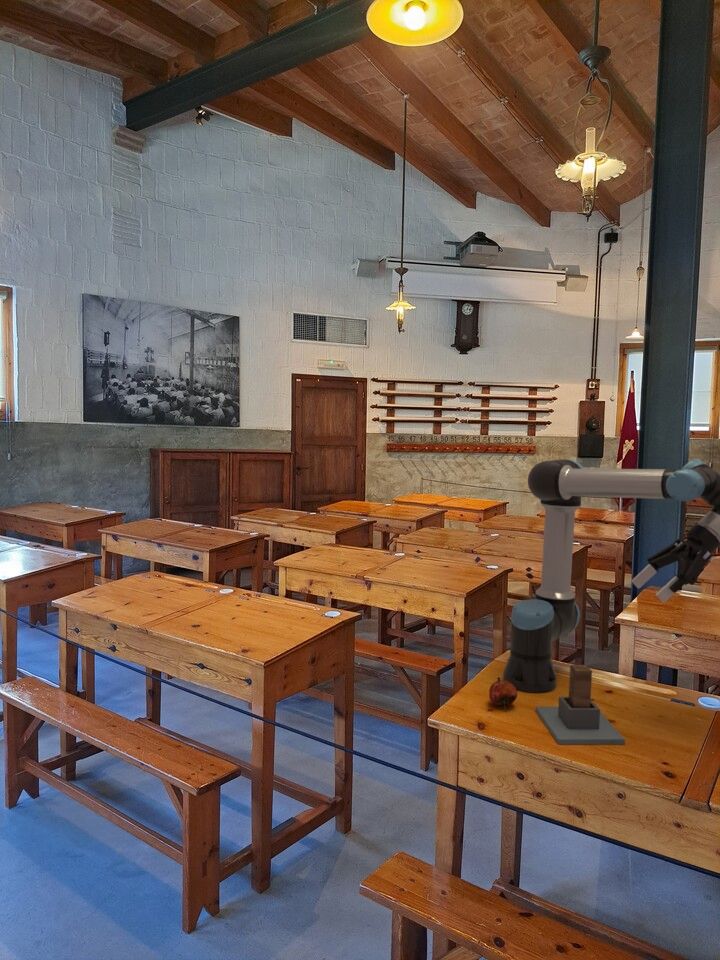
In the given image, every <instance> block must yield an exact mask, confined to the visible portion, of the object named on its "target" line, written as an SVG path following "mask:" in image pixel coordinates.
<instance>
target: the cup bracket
mask: <svg viewBox="0 0 720 960" xmlns="http://www.w3.org/2000/svg"><path fill="white" fill-rule="evenodd" d="M568 700H569V696H558V706H535V712H536V714H537V716H538V717H539V719H541V720H540V721H542V723H543V724H544V725H545V727H546V728H547V730H548V731H549V733H550V734H551V735H552V737H553V739H554V740H555V741H556V743H557V745H626V739H625V738H624V736H623V735H622V734H621V733H620V732H619V731H618V730H617V729H616V728H615V726H614V725H613V724H612V723H611V722H610V721H609V720H608V719H607V718H606V717H605V716H604V714H603V713H602V712H601V709H600V708H599V706H597V704H596V703H595V702H594V701H593V700H592V699H591V700H590V708H571V707H570V706H569V704H568Z"/></svg>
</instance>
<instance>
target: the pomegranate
mask: <svg viewBox="0 0 720 960" xmlns="http://www.w3.org/2000/svg"><path fill="white" fill-rule="evenodd" d="M496 680H497V681H495V682H493V683H492V684H491V685H490V687H489V691H488V692H489V693H488V695H489V696H488V697H489V701H490V702H491V703H492V704H493V705H494V706H496V707H497V706H504V711H505V712H507V706H508V705H512V704H514V702H515V701H516V700H517V698H518V690H517V689H516V688H515V687H514V685H513V684H511V683H510V682H508V681H506V680H503V679H501V678H500V677H496Z"/></svg>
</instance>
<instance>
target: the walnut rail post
mask: <svg viewBox="0 0 720 960" xmlns="http://www.w3.org/2000/svg"><path fill="white" fill-rule="evenodd" d="M592 680H593V670H592V669H590V667H588V665H587V664H570V666H569V683H568V697H569V700H568V704H569V706H570V707H571V708H590V700H592V699H591V697H592Z"/></svg>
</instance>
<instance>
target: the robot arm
mask: <svg viewBox="0 0 720 960" xmlns="http://www.w3.org/2000/svg"><path fill="white" fill-rule="evenodd" d="M527 486H528V489H529V491H530V492H531V494H532V495H533V496H534V497H535V498H537V499H538V500H540V505H541V506H542V507H543V508H544V509H545V512H544V528H543V529H544V530H543V544H542V547H543V548H542V563H541V564H542V565H541V580H540V581H541V582H540V584H541V585H540V587H539V588H537V589H536V590H535V595H534V598H531V599H523V600H522V599H521V600H520V601H517V602H516V603H515V604H514V605H513V607H512V609H511V616H510V621H511V623H510V645H509V646H510V647H509V648H510V653H509V656H508V658H507V661H506V664H505V667H504V670H503V674H502V680H506V681H508V682H510V683H511V684H513V685H514V687H515V688H516V690H517V691H522V692H526V693H548V692H551V691H554V690H555V689H556V688H557V675H556V671H555V667H554V663H553V659H552V651H553V650H552V649H553V642H554V641H556V640H558V639H560V638H561V637H564V636H568V635H569V634H570V633H572V632H573V631H574V630H575V629H576V627H577V626H578V624H579V623H580V618H581V611H580V608H579V606H578V605H577V603H576V595H575V592H573V591H572V590H571V585H572V582H571V581H572V567H573V553H574V551H573V549H574V548H573V546H574V533H575V521H576V520H575V517H576V512H577V510H578V509H579V508H581V506H582V497H588V498H589V497H590V498H591V497H592V498H620V499H621V498H623V499H650V500H651V499H652V500H653V499H656V500H657V499H658V500H674V501H675V500H676V501H679V502H691V501H694V500H697V499H701V500H702V501H704V502H705V503H707V504H708V505H709V506H710V507H711V508H712V509H711V510H709V511H708V512H707V513H706V514H705V515H704V516H703V517H701V519H699V521H698V522H697V524H695V525H693V526H692V527H691V528H690V529H689V530H688V531H687V532H686V533H685V536H686V537H687V539H686V540H685V541H684V542H682V540H681V539H680V538H678V539H676V540H675V541H673V542H672V543H671V544H669V545H668V546H666V547H665V548H663V549H661V550H659V551H657V553H655V554H652V555H651V556H650V557H648V558H647V559H646V562H648V564H647V565H646V566H645V567H644V568H643V569H642V570H641V571H640V572H639V573H638V574H637V575H636V576H634V578H633V579H632V580H630V582H631V583H632V584H633V585H634V586H635V587H636V589H640V588H642V587H643V586H644V585H645V584H646V583H647V582H648V581H649V580H650V579H651V578H652V577H653V576H655V574H657V573H659V569H661V568H664V567H666V566H668V565H671V564H673V563H675V562H679V563H680V562H682V564H681V567H680V570H679V573H677V574H675V575H676V576H674V577H673V578H671V579H670V581H668V582H667V583H666V584H665V585H664V586H662V588H661V589H660V590H659V591H657V593H656V594H655V596H656V597H657V599H659V600H660V601H661V602H662V603H663V604H665V603H666V602H667V601H668V600H669V599H671V597H673V596H674V595H675V594H676V593H677V592H678V591H679V590H681V589H682V587H683V586H687V585H691V586H692V585H695V583H696V581H697V580H698V578H699V576H700V574H701V573H702V572H703V570H704V568H705V566H706V564H707V563H708V561H709V560H711V558H713V555H712V554H713V553H714V552H715V551H716V550H717V549H718V548H720V473H719V472H717V471H716V469H715V470H714V469H713V468H712V467H711V466H710V465H709V464H708V463H705V462H704V461H702V460H701V459H699V458H693V459H691V460H690V461H688V462H687V463H686V464H685V465H684V466H683V467H682V468H679V469H678V468H675V469H673V468H671V469H670V468H669V469H666V468H665V469H664V468H585V467H583V465H582V464H581V463H579V462H577V461H576V460H573V459H572V460H571V459H566V458H564V459H560V458H559V459H555V460H554V459H553V460H544V461H541V462H538V463H537V464H536V465H533V467H532V468H531V470H530V471H529V473H528V477H527Z"/></svg>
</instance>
